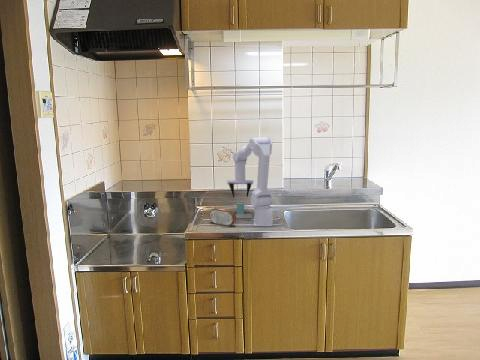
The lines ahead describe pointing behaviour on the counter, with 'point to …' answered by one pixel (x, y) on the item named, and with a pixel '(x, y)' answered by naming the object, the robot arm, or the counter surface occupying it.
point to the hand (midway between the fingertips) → (240, 196)
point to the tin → (222, 216)
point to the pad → (243, 216)
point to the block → (240, 207)
